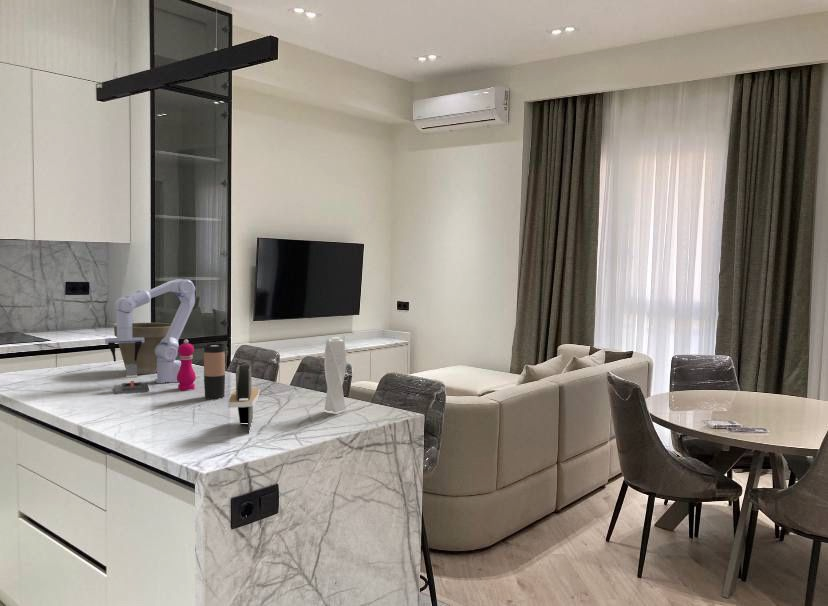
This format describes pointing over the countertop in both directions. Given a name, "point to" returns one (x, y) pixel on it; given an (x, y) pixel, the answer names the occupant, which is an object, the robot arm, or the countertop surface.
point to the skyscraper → (335, 373)
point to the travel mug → (214, 371)
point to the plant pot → (144, 345)
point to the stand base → (131, 387)
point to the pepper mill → (186, 367)
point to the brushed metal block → (131, 370)
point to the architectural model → (244, 395)
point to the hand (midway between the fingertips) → (125, 360)
